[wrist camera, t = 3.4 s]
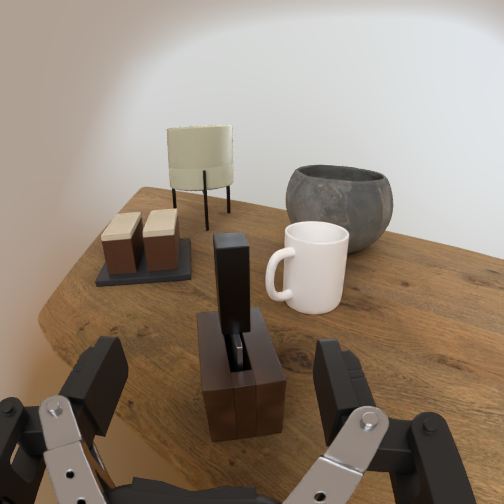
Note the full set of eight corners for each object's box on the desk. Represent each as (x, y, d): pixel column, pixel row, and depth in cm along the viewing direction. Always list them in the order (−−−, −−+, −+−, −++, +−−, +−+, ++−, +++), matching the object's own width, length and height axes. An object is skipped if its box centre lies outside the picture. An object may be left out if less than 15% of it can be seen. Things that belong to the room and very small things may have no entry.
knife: (231, 422, 25) (217, 258, 19) (223, 377, 31) (211, 226, 24) (255, 419, 26) (254, 255, 19) (244, 374, 31) (239, 224, 25)
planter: (188, 209, 88) (184, 126, 78) (242, 213, 83) (241, 124, 74) (159, 227, 74) (151, 130, 65) (220, 232, 70) (216, 125, 61)
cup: (352, 302, 43) (362, 234, 39) (284, 333, 37) (288, 256, 33) (314, 279, 50) (318, 217, 46) (248, 302, 44) (247, 233, 40)
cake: (96, 286, 48) (86, 241, 45) (115, 249, 62) (109, 212, 59) (190, 279, 50) (186, 232, 47) (190, 242, 65) (187, 204, 62)
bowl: (265, 239, 66) (265, 166, 60) (340, 224, 74) (344, 162, 68) (327, 280, 49) (335, 185, 43) (405, 255, 58) (416, 179, 52)
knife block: (212, 442, 23) (202, 390, 21) (203, 365, 32) (196, 312, 30) (281, 432, 24) (286, 379, 21) (259, 359, 33) (259, 306, 31)
